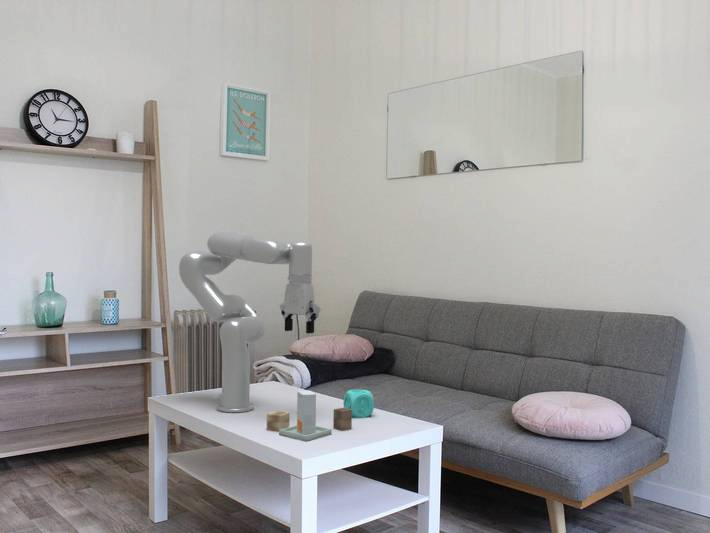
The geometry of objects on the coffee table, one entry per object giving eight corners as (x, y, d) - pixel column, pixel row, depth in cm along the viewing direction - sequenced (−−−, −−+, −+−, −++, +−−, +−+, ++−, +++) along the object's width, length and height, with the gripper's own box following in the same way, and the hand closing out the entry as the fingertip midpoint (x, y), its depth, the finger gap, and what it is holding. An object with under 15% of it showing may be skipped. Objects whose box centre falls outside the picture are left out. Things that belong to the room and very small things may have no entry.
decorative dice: (364, 412, 232) (364, 388, 232) (374, 417, 225) (374, 393, 225) (343, 413, 229) (343, 390, 229) (351, 418, 222) (352, 394, 222)
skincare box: (296, 430, 202) (297, 390, 202) (309, 429, 203) (310, 390, 203) (302, 435, 196) (302, 394, 196) (316, 434, 198) (316, 393, 198)
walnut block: (333, 428, 208) (333, 409, 208) (343, 426, 211) (343, 407, 211) (341, 431, 205) (341, 411, 205) (351, 429, 208) (351, 409, 208)
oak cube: (266, 430, 204) (266, 414, 204) (275, 426, 209) (275, 410, 209) (280, 432, 202) (281, 415, 202) (289, 428, 207) (289, 412, 207)
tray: (279, 434, 199) (279, 429, 199) (304, 428, 208) (304, 423, 208) (306, 441, 192) (306, 436, 192) (331, 434, 201) (331, 429, 201)
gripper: (273, 279, 223) (272, 330, 223) (311, 280, 213) (310, 334, 213) (289, 279, 229) (288, 329, 229) (327, 280, 218) (326, 333, 218)
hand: (299, 332), depth 221 cm, fingers open, 9 cm apart
